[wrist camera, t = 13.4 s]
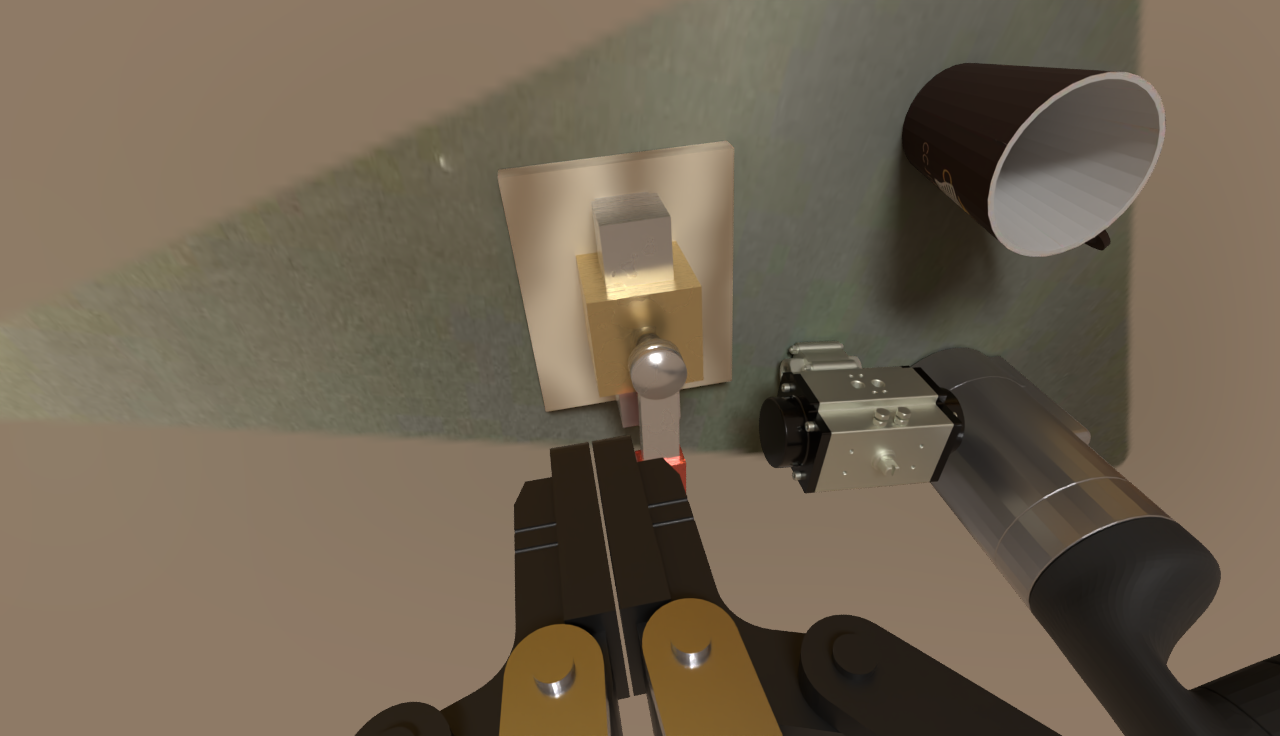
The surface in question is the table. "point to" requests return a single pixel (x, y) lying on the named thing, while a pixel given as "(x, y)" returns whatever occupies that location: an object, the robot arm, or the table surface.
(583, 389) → the mounting board
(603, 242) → the valve
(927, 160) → the coffee mug
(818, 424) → the pneumatic valve
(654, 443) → the lever
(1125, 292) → the table surface
